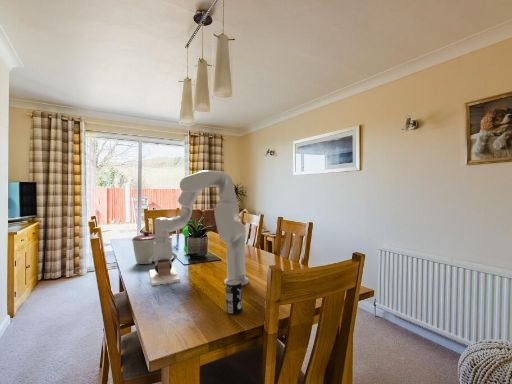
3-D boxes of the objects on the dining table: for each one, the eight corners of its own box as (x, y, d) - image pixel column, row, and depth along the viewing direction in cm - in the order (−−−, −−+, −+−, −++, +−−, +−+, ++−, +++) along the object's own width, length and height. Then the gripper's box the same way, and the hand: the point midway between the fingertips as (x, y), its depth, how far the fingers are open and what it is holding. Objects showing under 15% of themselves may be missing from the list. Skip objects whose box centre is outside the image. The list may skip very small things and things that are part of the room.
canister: (150, 257, 193) (148, 228, 193) (167, 260, 184) (166, 229, 183) (126, 264, 178) (125, 232, 177) (144, 268, 169) (143, 234, 168)
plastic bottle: (180, 254, 200) (179, 220, 200) (193, 251, 208) (192, 219, 207) (187, 256, 193) (186, 221, 193) (200, 253, 201) (199, 220, 200)
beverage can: (242, 307, 112) (241, 278, 112) (242, 315, 105) (241, 284, 105) (226, 308, 112) (225, 279, 111) (225, 315, 105) (224, 285, 105)
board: (180, 281, 144) (180, 278, 144) (151, 286, 138) (151, 283, 138) (174, 269, 166) (173, 266, 166) (149, 272, 160) (149, 270, 160)
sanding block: (170, 274, 150) (169, 262, 150) (158, 276, 148) (158, 263, 148) (168, 269, 159) (167, 257, 159) (157, 271, 157) (156, 259, 157)
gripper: (177, 236, 160) (178, 267, 161) (145, 240, 153) (146, 271, 153) (179, 239, 153) (180, 270, 154) (146, 242, 146) (147, 275, 147)
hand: (163, 271), depth 154 cm, fingers closed on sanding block, 6 cm apart
